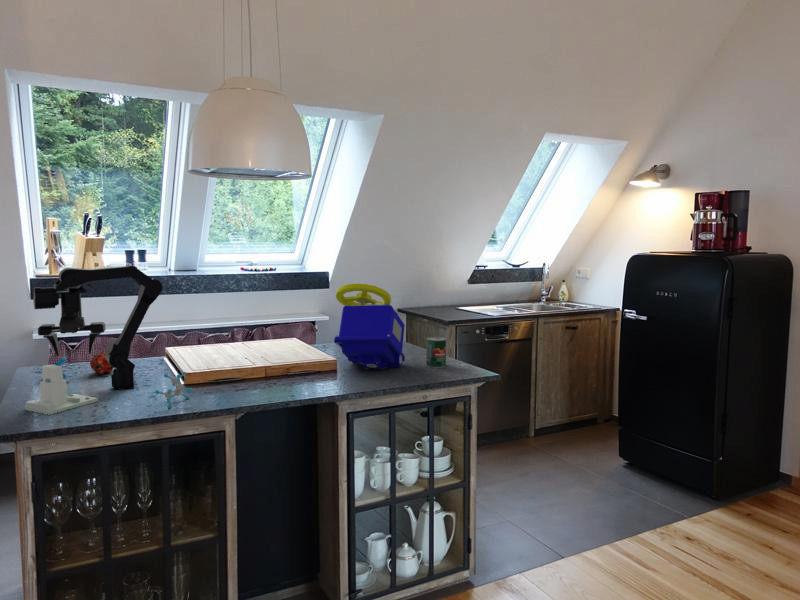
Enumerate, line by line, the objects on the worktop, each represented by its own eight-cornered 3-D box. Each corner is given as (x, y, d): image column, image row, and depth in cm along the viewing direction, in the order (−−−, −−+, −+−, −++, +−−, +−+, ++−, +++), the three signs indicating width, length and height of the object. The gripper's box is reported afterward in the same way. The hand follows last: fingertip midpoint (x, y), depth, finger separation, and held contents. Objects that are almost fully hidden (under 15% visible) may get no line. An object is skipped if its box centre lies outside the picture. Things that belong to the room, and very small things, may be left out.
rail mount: (74, 396, 195) (73, 389, 195) (97, 401, 191) (97, 393, 190) (25, 410, 181) (24, 402, 181) (49, 415, 176) (48, 407, 176)
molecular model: (175, 425, 189) (203, 391, 200) (177, 400, 179) (207, 367, 190) (142, 407, 189) (171, 375, 200) (143, 382, 180) (174, 349, 191)
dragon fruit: (112, 373, 234) (101, 385, 222) (92, 361, 232) (79, 373, 220) (124, 356, 233) (113, 367, 221) (104, 344, 230) (92, 355, 219)
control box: (384, 355, 218) (393, 281, 231) (316, 355, 226) (328, 283, 238) (403, 378, 241) (410, 309, 253) (340, 377, 248) (350, 310, 260)
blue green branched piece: (51, 369, 225) (68, 351, 223) (64, 380, 226) (81, 362, 224) (34, 381, 214) (51, 362, 212) (48, 392, 215) (65, 373, 214)
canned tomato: (440, 368, 237) (440, 341, 236) (422, 366, 241) (422, 339, 240) (449, 364, 244) (449, 337, 242) (432, 362, 248) (432, 336, 246)
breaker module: (55, 400, 188) (53, 363, 186) (67, 402, 185) (65, 365, 184) (41, 404, 184) (38, 366, 182) (53, 406, 181) (50, 368, 180)
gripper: (32, 311, 185) (35, 361, 187) (100, 309, 191) (102, 357, 193) (40, 307, 195) (43, 354, 197) (104, 304, 201) (106, 351, 203)
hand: (74, 354), depth 197 cm, fingers open, 9 cm apart
